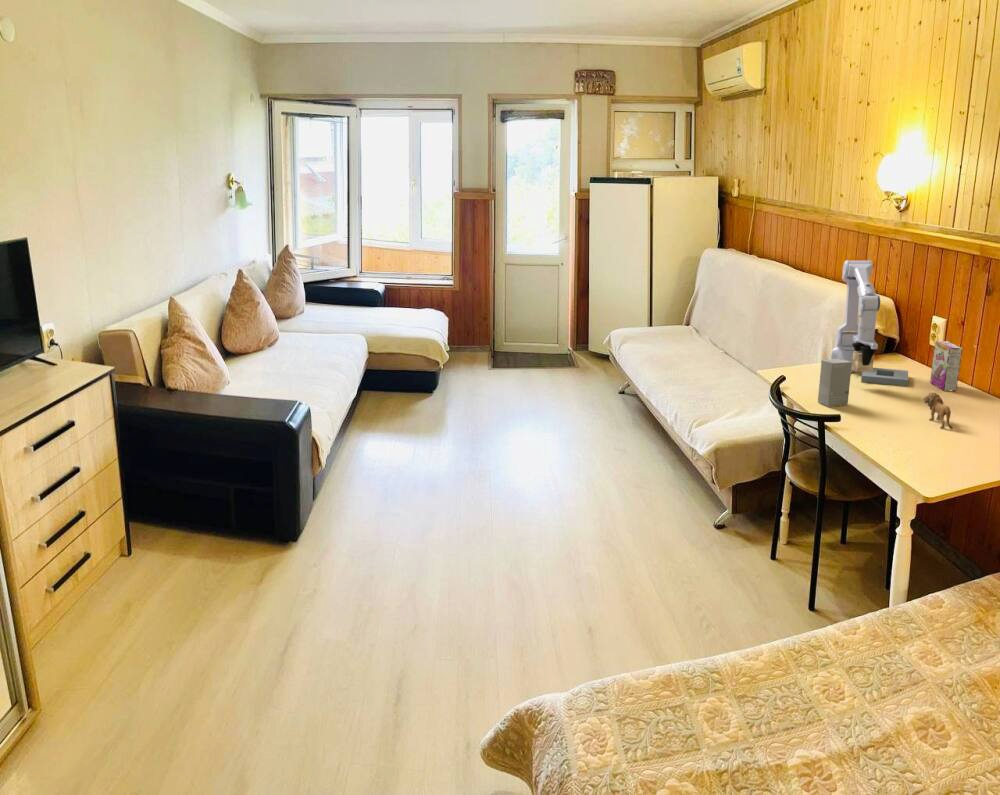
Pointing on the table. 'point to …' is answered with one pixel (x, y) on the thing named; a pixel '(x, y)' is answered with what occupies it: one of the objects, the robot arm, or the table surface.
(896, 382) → the socket plate
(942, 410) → the lion figurine
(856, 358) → the keyed plug
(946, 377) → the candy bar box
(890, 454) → the table surface
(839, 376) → the skincare box
